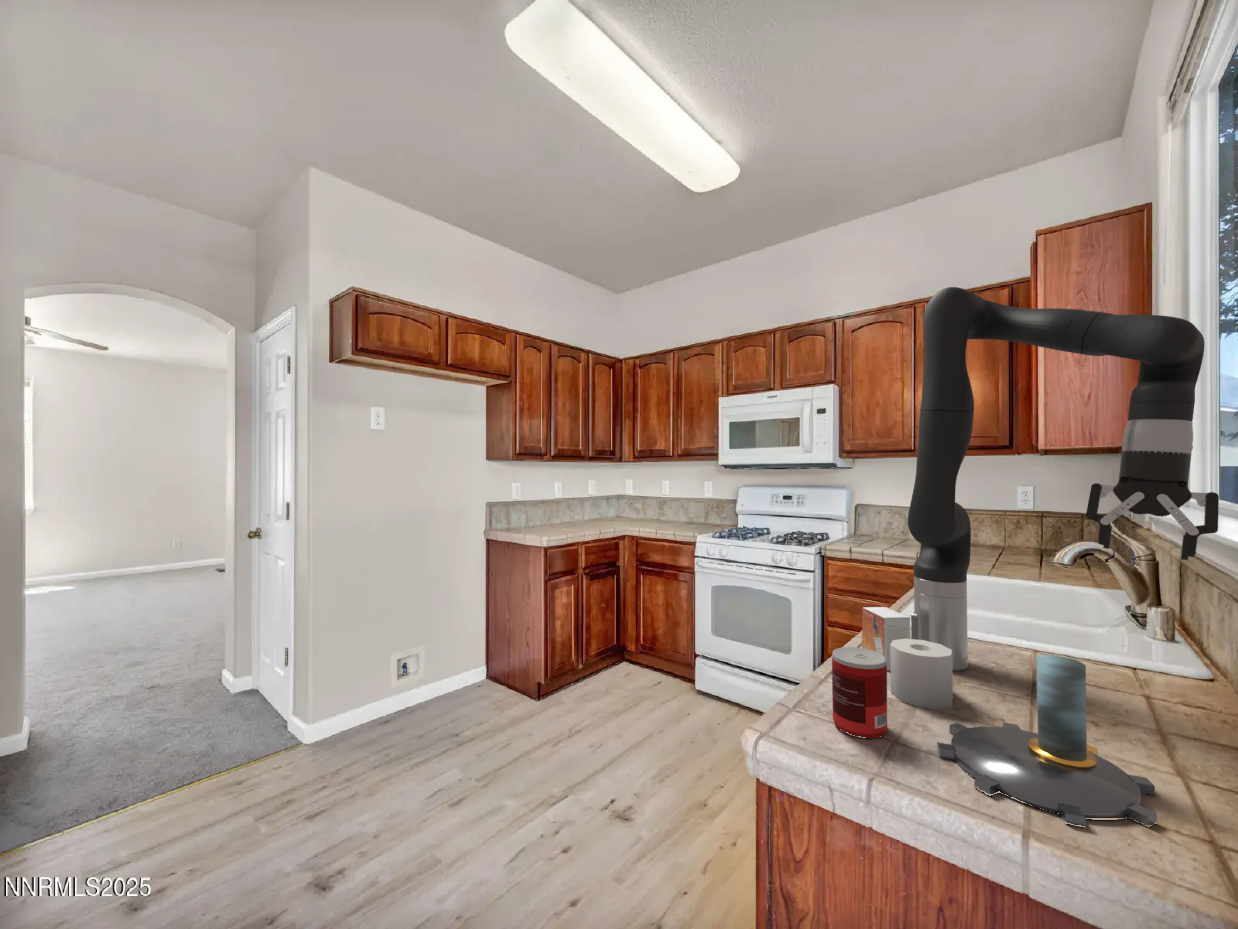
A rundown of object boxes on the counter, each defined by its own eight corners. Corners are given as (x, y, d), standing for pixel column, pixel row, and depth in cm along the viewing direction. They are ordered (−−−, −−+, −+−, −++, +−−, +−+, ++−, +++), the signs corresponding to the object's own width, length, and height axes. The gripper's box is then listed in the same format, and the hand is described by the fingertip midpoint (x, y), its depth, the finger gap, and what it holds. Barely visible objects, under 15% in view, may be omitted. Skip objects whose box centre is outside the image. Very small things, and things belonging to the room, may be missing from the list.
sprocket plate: (922, 772, 67) (922, 760, 67) (961, 716, 83) (960, 706, 83) (1159, 858, 52) (1159, 843, 52) (1152, 770, 68) (1152, 758, 68)
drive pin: (1035, 751, 70) (1034, 661, 70) (1040, 737, 73) (1039, 652, 73) (1085, 766, 66) (1084, 671, 66) (1088, 750, 70) (1086, 661, 70)
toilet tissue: (953, 686, 94) (953, 639, 94) (951, 714, 83) (950, 661, 83) (897, 675, 99) (897, 630, 99) (888, 700, 88) (887, 650, 88)
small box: (861, 656, 109) (861, 606, 109) (886, 655, 110) (886, 606, 110) (884, 671, 101) (883, 617, 101) (911, 670, 102) (910, 616, 102)
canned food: (883, 719, 82) (882, 649, 82) (891, 744, 74) (891, 667, 74) (831, 711, 84) (830, 644, 84) (834, 735, 77) (833, 661, 77)
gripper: (1091, 446, 83) (1081, 547, 83) (1228, 452, 72) (1215, 566, 73) (1095, 449, 88) (1085, 543, 88) (1223, 454, 78) (1211, 561, 78)
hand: (1144, 553), depth 81 cm, fingers open, 8 cm apart
